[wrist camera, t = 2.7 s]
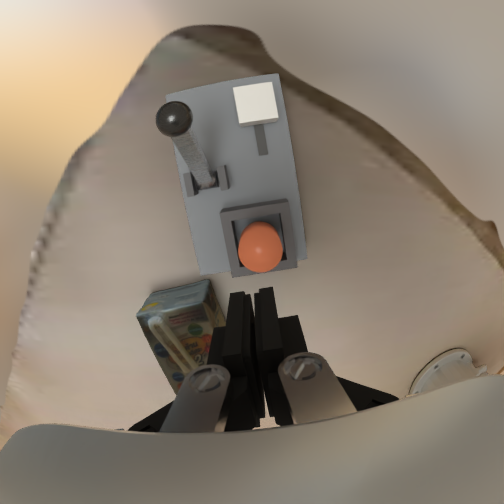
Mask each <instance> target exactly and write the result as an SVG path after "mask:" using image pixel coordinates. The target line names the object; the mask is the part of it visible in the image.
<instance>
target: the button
mask: <svg viewBox="0 0 504 504" xmlns="http://www.w3.org/2000/svg"><path fill="white" fill-rule="evenodd" d="M282 254H283V248H282V244H281V241H280V238H279V235H278V232H277V231H276V229H275V228H274V227H273V226H272V225H270V224H269V223H266V222H262V221H258V222H253V223H251V224H249V225H248V226H246V227H245V228H244V230H243V231H242V233H241V236H240V242H239V248H238V255H239V258H240V261H241V262H242V264H243V265H244V266H245V267H246V268H248V269H249V270H251V271H254V272H267V271H269V270H271V269H273V268H274V267H276V266H277V265H278V263H279V262H280V260H281V258H282Z"/></svg>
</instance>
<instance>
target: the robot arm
mask: <svg viewBox="0 0 504 504" xmlns="http://www.w3.org/2000/svg"><path fill="white" fill-rule="evenodd" d="M254 304H255V316H254V311H253V306H252V301H251V296H250V294H247V295H245V292H244V291H242V292H236V293H230V298H229V306H228V313H227V320H226V326H221V327H215V328H214V329H213V333H212V339H211V344H210V349H209V354H208V359H207V364H206V365H204V366H200V367H198V368H196V369H194V370H192V371H191V372H190V373H188V374H187V376H186V377H185V379H184V381H183V383H182V385H181V387H180V389H179V391H178V393H177V395H176V398H175V400H174V401H172V402H171V403H169V404H167V405H166V406H164V407H163V408H161V409H159V410H158V411H156V412H155V413H153V414H151V415H150V416H148V417H146V418H145V419H143V420H141V421H139V422H138V423H136V424H134V425H133V426H132V427H130V428H129V430H128V431H125V430H124V429H114V430H113V429H104V428H96V427H86V426H78V425H70V424H57V423H52V424H38V425H31V426H28V427H25V428H22V429H20V430H18V431H17V432H15V433H14V434H13V435H12V436H11V438H10V439H9V440H8V441H7V443H6V444H5V445H4V447H3V448H2V450H1V451H0V504H504V375H501V374H492V375H488V373H487V372H486V370H487V366H486V365H485V364H483V365H481V366H479V367H478V368H475V367H474V366H473V365H472V357H471V356H470V354H469V353H468V352H467V351H466V350H464V349H453V350H450V351H448V352H445V353H443V354H441V355H440V356H438V357H437V358H435V359H434V360H433V361H431V362H430V363H429V364H428V365H427V366H426V367H425V368H424V369H423V370H422V371H421V372H420V374H419V375H418V376H417V378H416V379H415V381H414V383H413V385H412V387H411V390H410V395H406V398H404V399H399V398H397V397H396V396H393V395H391V394H388V393H385V392H382V391H379V390H376V389H372V388H369V387H366V386H363V385H360V384H357V383H355V382H352V381H349V380H346V379H343V378H340V377H337V376H335V374H334V372H333V371H332V369H331V368H330V366H329V364H328V363H327V361H326V360H325V359H324V358H323V357H322V356H320V355H319V354H316V353H312V352H308V350H307V346H306V343H305V339H304V335H303V332H302V328H301V325H300V321H299V318H298V315H295V316H289V317H283V318H278V315H277V309H276V303H275V297H274V291H273V287H268V288H262V289H259V293H254ZM264 392H265V397H266V402H267V406H268V411H269V415H270V417H275V421H276V424H278V425H280V427H272V428H264V429H255V430H252V429H253V428H254V427H260V418H265V402H264Z"/></svg>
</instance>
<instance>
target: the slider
mask: <svg viewBox="0 0 504 504" xmlns="http://www.w3.org/2000/svg"><path fill="white" fill-rule="evenodd" d="M233 91H234V97H235V102H236V108H237V113H238V119H239V124H240V127H245V126H252V125H258V124H265V123H272V122H276V121H277V119H278V118H279V117H278V111H277V106H276V101H275V96H274V90H273V85H272V82H266V83H259V84H252V85H245V86H239V87H233Z"/></svg>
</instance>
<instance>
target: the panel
mask: <svg viewBox="0 0 504 504" xmlns="http://www.w3.org/2000/svg"><path fill="white" fill-rule="evenodd" d="M266 82H272V85H273V90H274V96H275V101H276V106H277V111H278V117H279V118H278V119H277V121H276V122H272V123H265V124H258V125H252V126H245V127H240V124H239V119H238V113H237V108H236V102H235V97H234V91H233V87H239V86H245V85H252V84H259V83H266ZM166 101H167V103H168V102H171V101H180V102H183V103H185V104H186V105H188V106H189V107H190V109H191V111H192V113H193V122H192V125H191V127H192V129H193V131H194V134H195V136H196V138H197V140H198V142H199V145H200V147H201V149H202V151H203V153H204V155H205V158H206V160H207V162H208V164H209V166H210V168H211V171H217V174H218V179H219V187H216V188H211V189H206V190H200V191H197V189H196V187H195V182H194V176H193V174H192V172H191V171H190V169H189V167H188V166H187V164H186V162H185V161H184V159H183V157H182V156H181V154H180V152H179V151H178V149H177V147H176V146H175V144H174V142H173V144H174V150H175V156H176V161H177V167H178V172H179V177H180V182H181V187H182V192H183V197H184V202H185V207H186V212H187V217H188V221H189V226H190V230H191V235H192V239H193V244H194V248H195V253H196V257H197V261H198V265H199V270H200V274H201V275H208V274H214V273H221V272H228V271H231V274H232V278H233V277H240V276H246V275H253V274H259V273H266V272H254V271H251V270H249V269H248V268H246V267H245V266H244V265H243V264H242V262H241V261H240V258H239V255H238V248H239V242H240V236H241V233H242V231H243V230H244V228H245V227H246V226H248V225H249V224H251V223H253V222H258V221H262V222H266V223H269V224H270V225H272V226H273V227H274V228H275V229H276V231H277V232H278V235H279V238H280V241H281V244H282V248H283V254H282V258H281V260H280V262H279V263H278V265H277V266H276V267H274V268H273V269H271V270H269V271H267V272H272V271H278V270H285V269H291V268H297V267H298V266H297V261H298V260H304V259H307V251H306V243H305V234H304V226H303V218H302V211H301V204H300V196H299V189H298V183H297V176H296V169H295V163H294V157H293V150H292V144H291V138H290V133H289V127H288V121H287V116H286V110H285V105H284V100H283V95H282V89H281V84H280V79H279V75H278V74H269V75H262V76H254V77H248V78H241V79H235V80H230V81H224V82H219V83H214V84H209V85H205V86H200V87H196V88H192V89H187V90H183V91H179V92H176V93H172V94H168V95H166Z"/></svg>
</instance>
